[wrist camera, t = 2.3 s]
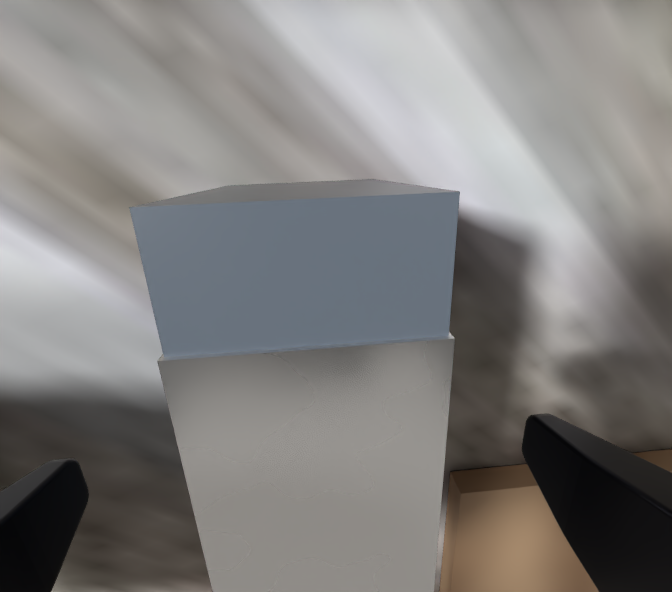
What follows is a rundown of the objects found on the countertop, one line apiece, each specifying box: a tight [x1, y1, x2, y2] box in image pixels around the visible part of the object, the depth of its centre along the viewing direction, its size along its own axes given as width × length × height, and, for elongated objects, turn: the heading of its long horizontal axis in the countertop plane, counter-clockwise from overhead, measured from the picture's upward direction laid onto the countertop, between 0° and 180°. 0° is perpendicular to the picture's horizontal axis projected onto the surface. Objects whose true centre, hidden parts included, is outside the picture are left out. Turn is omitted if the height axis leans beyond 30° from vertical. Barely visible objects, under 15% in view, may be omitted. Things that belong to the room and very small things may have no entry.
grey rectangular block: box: [129, 179, 460, 592], centre depth 9 cm, size 4×10×6 cm, turn 2°
